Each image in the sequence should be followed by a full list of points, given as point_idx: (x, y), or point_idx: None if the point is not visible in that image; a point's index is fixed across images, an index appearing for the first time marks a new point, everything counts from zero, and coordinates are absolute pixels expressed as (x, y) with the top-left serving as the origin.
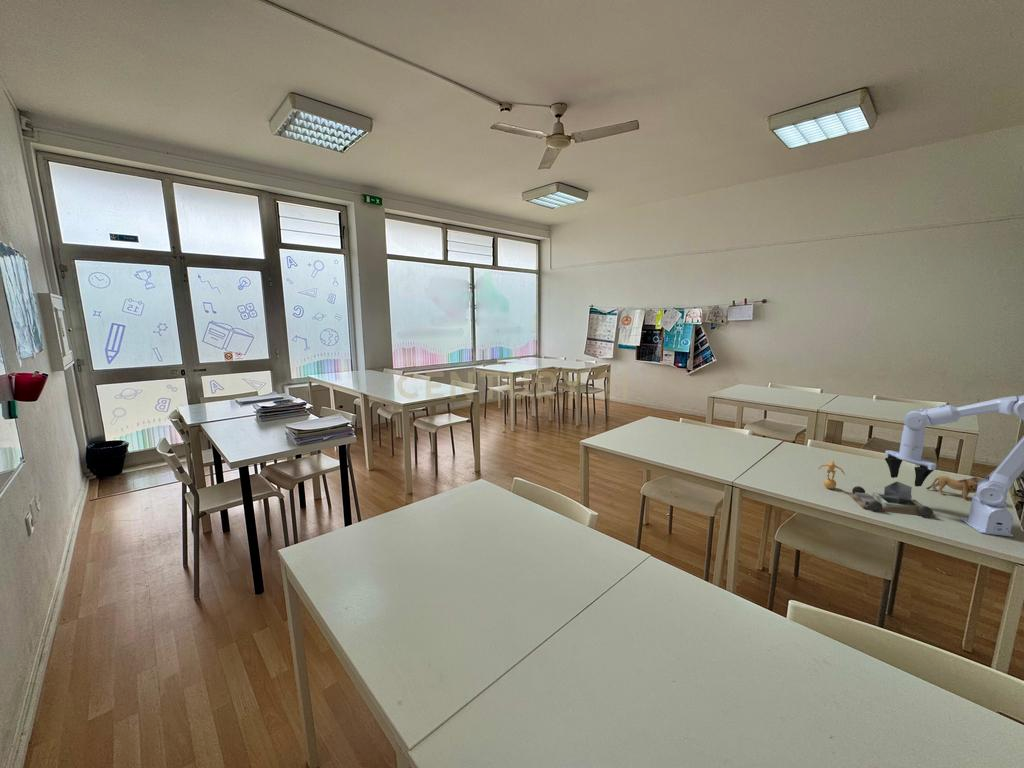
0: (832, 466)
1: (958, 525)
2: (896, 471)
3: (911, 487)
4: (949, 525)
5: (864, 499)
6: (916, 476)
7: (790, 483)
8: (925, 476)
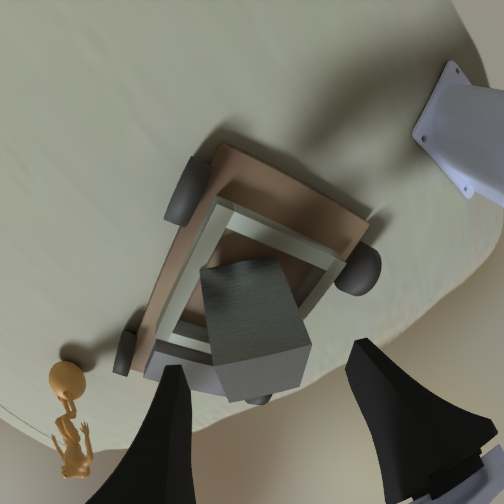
0: (89, 471)
1: (426, 204)
2: (181, 423)
3: (310, 341)
4: (413, 235)
5: (211, 391)
6: (378, 438)
7: (65, 411)
8: (420, 399)
